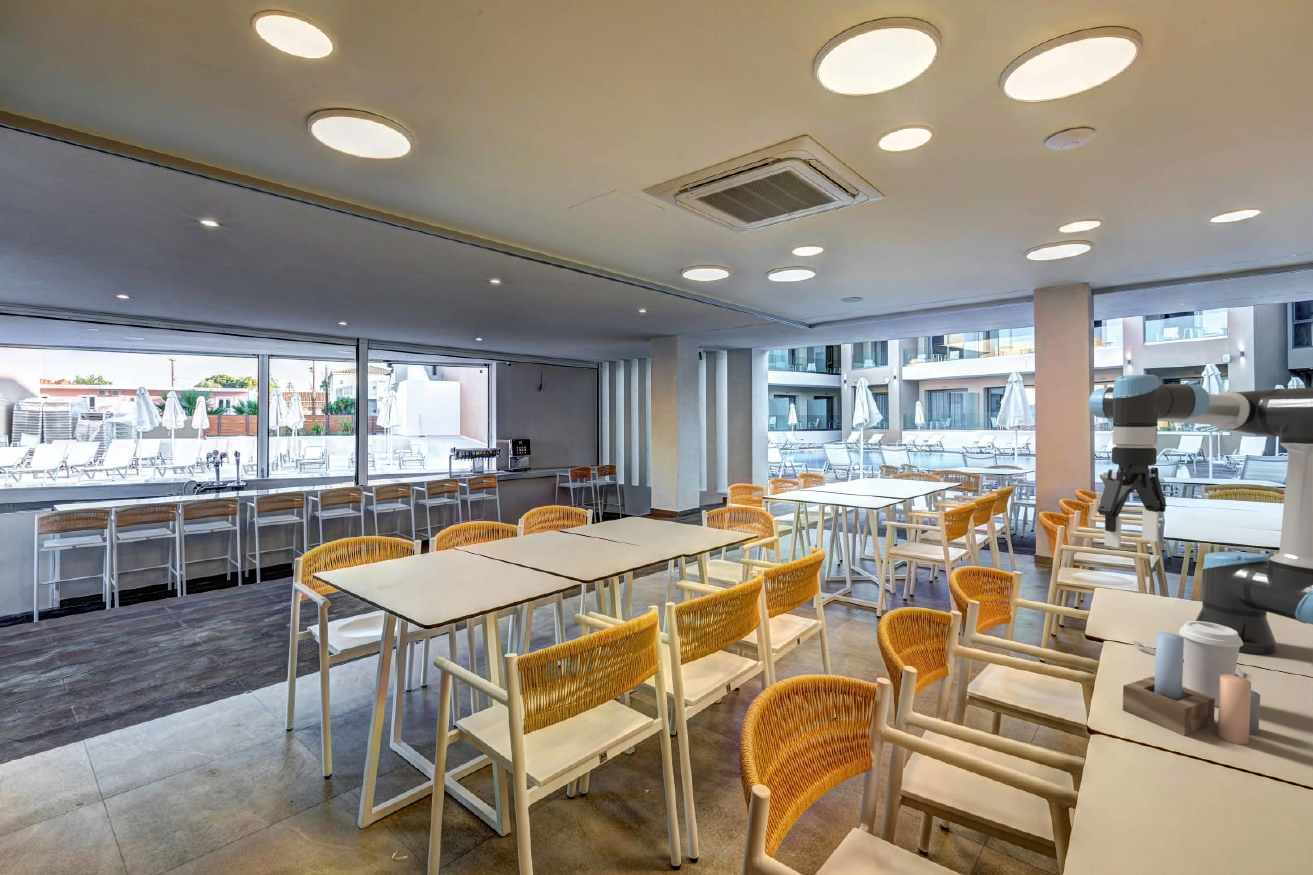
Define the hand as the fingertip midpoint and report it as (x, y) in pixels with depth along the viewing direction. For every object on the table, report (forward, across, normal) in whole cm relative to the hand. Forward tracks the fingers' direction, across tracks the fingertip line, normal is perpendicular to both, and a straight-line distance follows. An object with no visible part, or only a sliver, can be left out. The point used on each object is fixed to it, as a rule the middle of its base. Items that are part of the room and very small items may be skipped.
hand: (1131, 543), depth 126 cm
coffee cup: (+31, -6, +11) cm, 33 cm away
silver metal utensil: (+31, -24, -1) cm, 39 cm away
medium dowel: (+31, +8, +21) cm, 38 cm away
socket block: (+31, +10, +12) cm, 34 cm away
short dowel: (+31, +2, +20) cm, 37 cm away
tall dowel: (+31, +10, +12) cm, 34 cm away
